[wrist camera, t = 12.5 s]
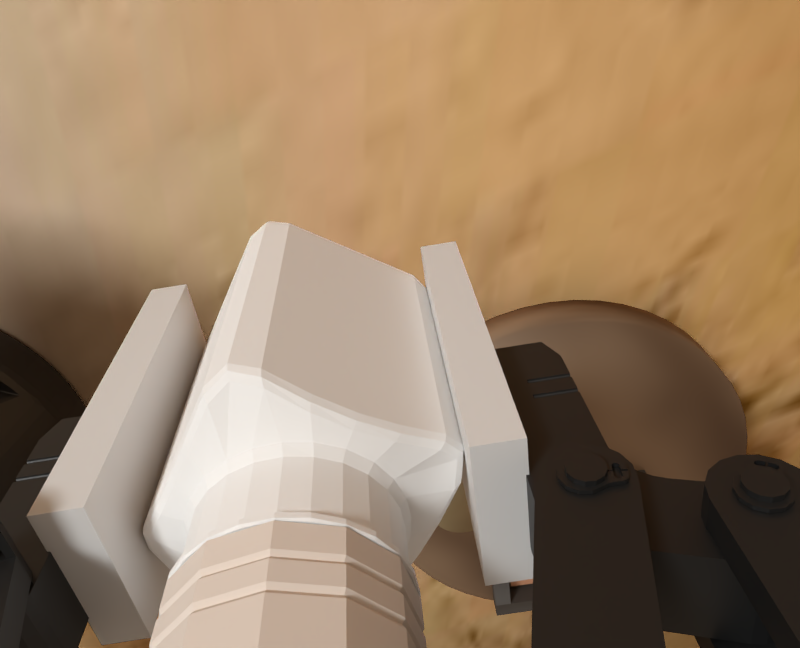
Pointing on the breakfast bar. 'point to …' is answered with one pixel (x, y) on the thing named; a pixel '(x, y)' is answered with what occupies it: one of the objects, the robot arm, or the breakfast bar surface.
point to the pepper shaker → (307, 457)
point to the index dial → (608, 414)
